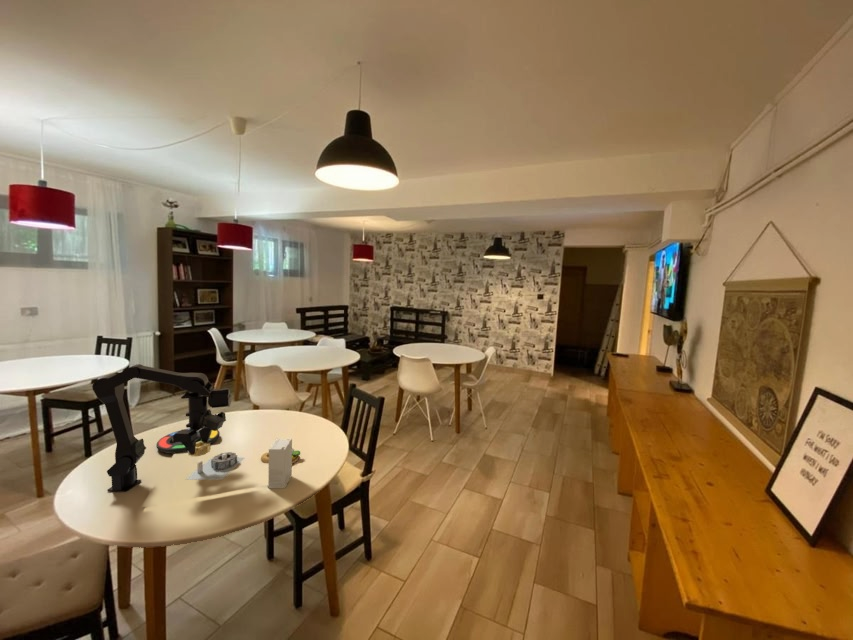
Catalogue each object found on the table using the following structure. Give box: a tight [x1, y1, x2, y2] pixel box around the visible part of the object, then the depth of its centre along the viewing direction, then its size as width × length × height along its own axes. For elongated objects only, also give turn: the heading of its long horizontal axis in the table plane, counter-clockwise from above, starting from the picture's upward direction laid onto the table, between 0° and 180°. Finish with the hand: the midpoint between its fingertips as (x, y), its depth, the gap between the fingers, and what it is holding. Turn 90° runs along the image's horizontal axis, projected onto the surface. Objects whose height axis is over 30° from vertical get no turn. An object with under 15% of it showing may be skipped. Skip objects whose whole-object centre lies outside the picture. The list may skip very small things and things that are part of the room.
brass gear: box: [187, 441, 211, 457], centre depth 124 cm, size 7×7×3 cm
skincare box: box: [267, 438, 293, 489], centre depth 121 cm, size 8×6×15 cm
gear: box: [210, 451, 238, 470], centre depth 131 cm, size 9×9×3 cm
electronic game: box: [155, 428, 221, 455], centre depth 150 cm, size 23×23×5 cm
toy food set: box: [260, 447, 301, 465], centre depth 138 cm, size 13×13×3 cm
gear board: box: [185, 454, 245, 481], centre depth 128 cm, size 16×13×5 cm
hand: (199, 449), depth 124 cm, fingers closed on brass gear, 7 cm apart
